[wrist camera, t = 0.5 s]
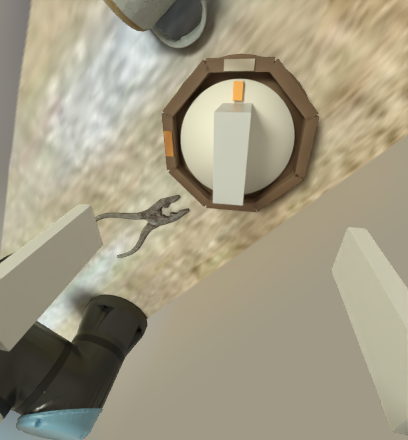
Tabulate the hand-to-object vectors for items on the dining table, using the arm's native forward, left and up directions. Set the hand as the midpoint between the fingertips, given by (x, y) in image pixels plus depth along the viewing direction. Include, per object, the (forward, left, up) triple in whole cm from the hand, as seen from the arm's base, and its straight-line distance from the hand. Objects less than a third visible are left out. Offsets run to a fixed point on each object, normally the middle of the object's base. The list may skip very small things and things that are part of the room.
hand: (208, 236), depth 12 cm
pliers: (-22, +2, -22) cm, 31 cm away
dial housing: (0, 0, -22) cm, 22 cm away
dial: (0, 0, -20) cm, 20 cm away
